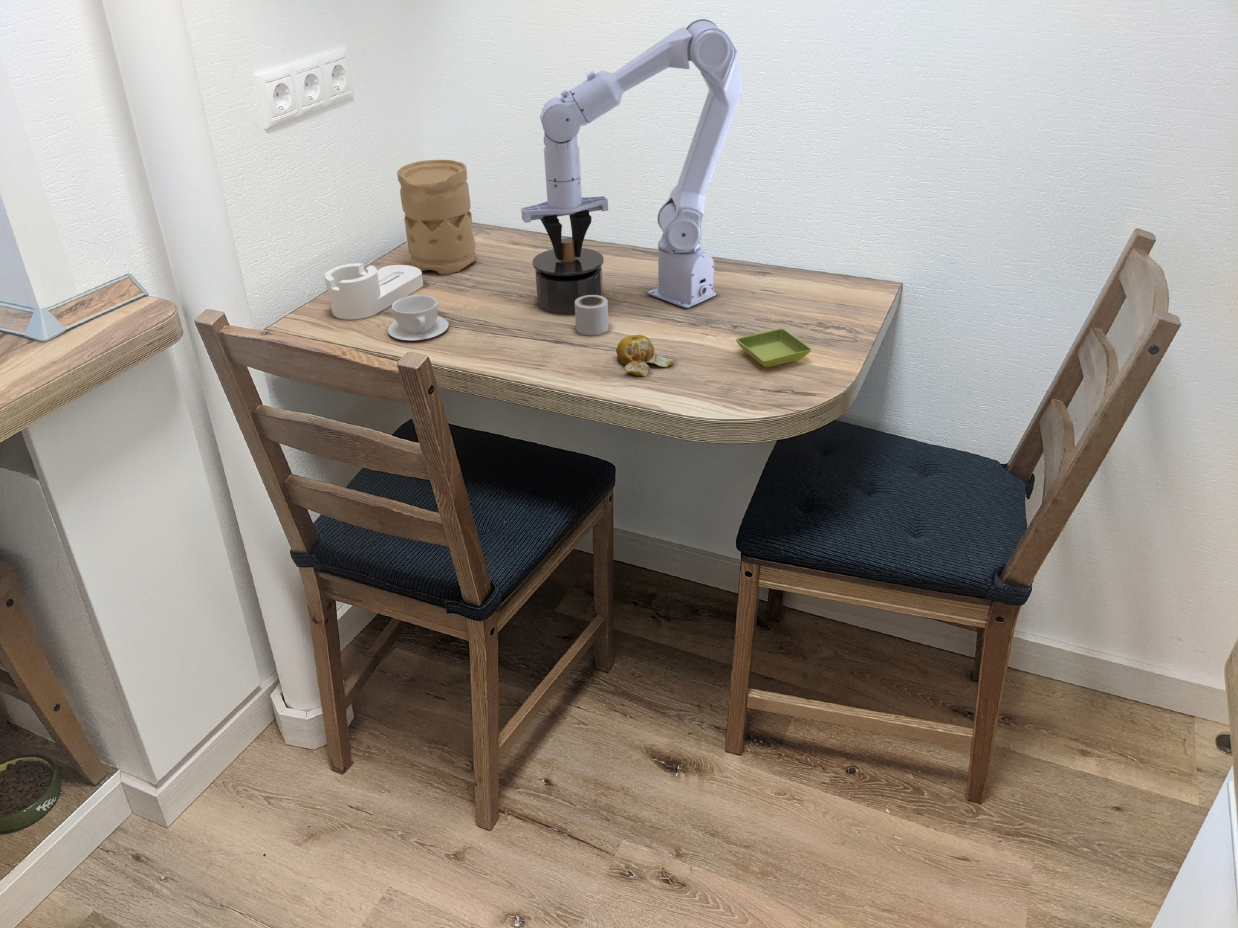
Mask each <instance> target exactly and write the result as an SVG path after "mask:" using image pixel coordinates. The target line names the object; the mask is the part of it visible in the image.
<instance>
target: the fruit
mask: <svg viewBox="0 0 1238 928" xmlns="http://www.w3.org/2000/svg"><path fill="white" fill-rule="evenodd" d="M655 351H656V350H655V347H654V344H653V343H652V341H651V340H650V339H649V338H648V337H647V336H646V335H643V334H634V335H633V334H632V335H629V336H626V337H623V338H622V339H621V340H620V341H619V342H618V344H617V346H616V349H615V353H616V355H617V358H618V361H619V363H620V364H622V365H624V372H626V373H627V374H633V375H634V376H637V377H640V376H641V377H647V375H648V374H649V368H650V366H649V365H648V364H647V363H651V364H655V365H657V366H658V367H662V368H666V367H669V366H671V365H672V364H673V363H674V362H675V360H674V359H673V358H667V357H664V356H661V355H657V354H655Z"/></svg>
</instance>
